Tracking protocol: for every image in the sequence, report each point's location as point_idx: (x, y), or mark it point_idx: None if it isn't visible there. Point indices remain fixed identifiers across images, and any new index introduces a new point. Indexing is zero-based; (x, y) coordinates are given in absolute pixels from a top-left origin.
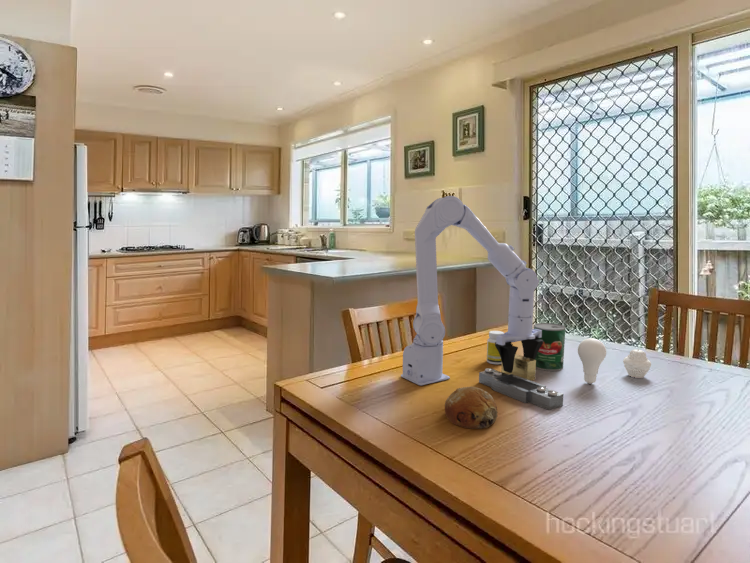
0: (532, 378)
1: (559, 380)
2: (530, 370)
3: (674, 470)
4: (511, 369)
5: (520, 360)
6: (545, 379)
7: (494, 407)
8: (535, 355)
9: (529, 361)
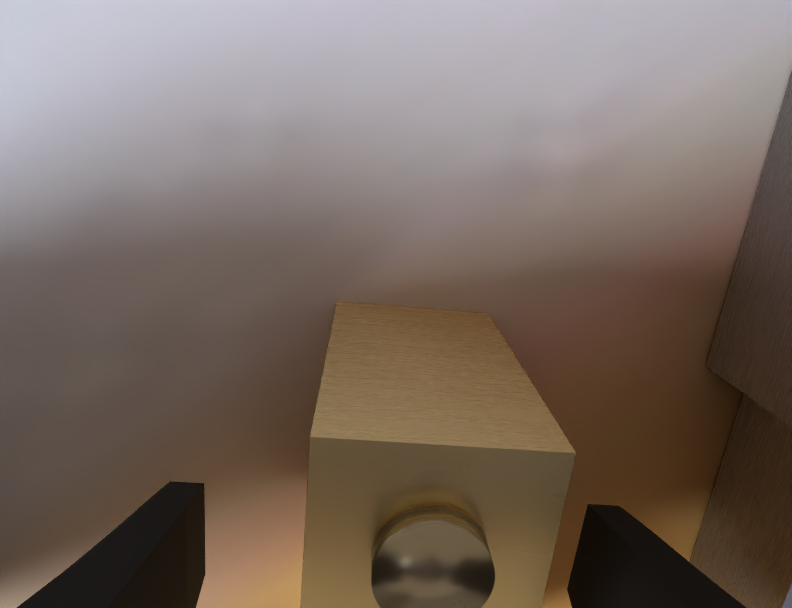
0: (385, 313)
1: (86, 75)
2: (450, 363)
3: None
4: (641, 528)
5: (540, 591)
6: (223, 221)
7: None
8: (55, 602)
9: (519, 453)
